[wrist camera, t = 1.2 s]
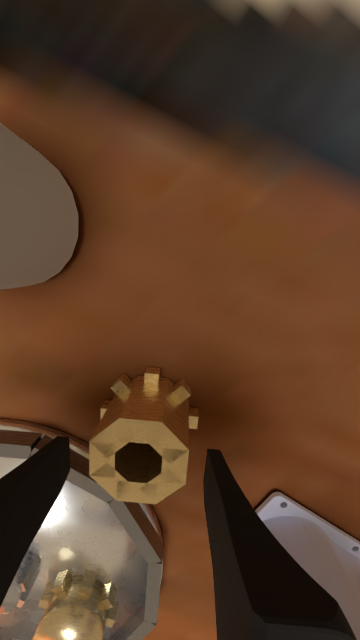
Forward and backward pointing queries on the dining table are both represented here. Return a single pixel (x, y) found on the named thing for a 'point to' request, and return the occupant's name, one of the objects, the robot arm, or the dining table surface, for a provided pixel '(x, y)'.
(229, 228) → the dining table surface
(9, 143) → the can
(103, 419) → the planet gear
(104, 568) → the carrier
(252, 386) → the dining table surface
